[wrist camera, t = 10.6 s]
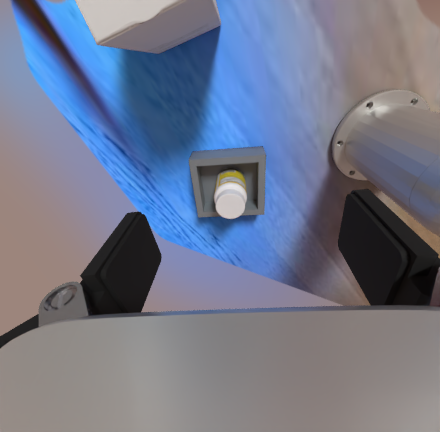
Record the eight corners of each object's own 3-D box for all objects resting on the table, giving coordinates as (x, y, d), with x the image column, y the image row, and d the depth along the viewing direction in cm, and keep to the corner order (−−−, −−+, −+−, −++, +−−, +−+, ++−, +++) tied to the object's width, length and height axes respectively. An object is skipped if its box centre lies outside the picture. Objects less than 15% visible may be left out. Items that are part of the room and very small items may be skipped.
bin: (262, 146, 34) (265, 154, 31) (261, 202, 40) (264, 214, 36) (192, 151, 35) (188, 160, 32) (201, 205, 41) (198, 217, 37)
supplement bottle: (233, 198, 38) (232, 227, 31) (210, 182, 37) (205, 209, 30) (251, 177, 36) (255, 204, 29) (228, 160, 35) (226, 184, 28)
